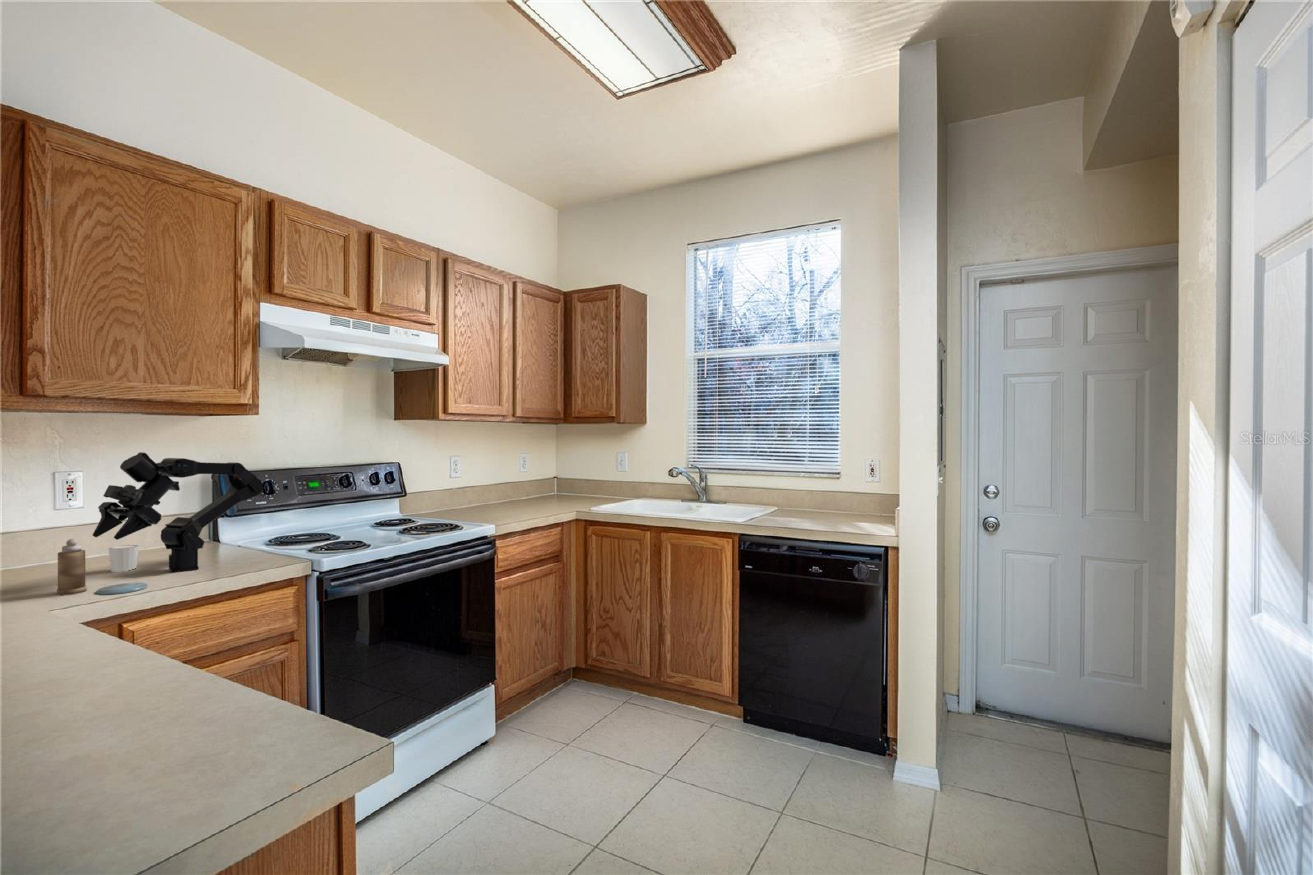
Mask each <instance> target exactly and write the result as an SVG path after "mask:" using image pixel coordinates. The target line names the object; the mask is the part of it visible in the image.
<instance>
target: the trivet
mask: <svg viewBox="0 0 1313 875" xmlns="http://www.w3.org/2000/svg"><path fill="white" fill-rule="evenodd" d="M146 588H148V583H146V582H127V583H117V584H112V585H108V586H107V585H106V586H103V587H100V588H99V589H96V590H97V591H96V593H97V595H101V596H102V595H103V596H104V595H105V596H107V595H108V596H109V595H111V596H112V595H121V594H122V595H123V594H129V593H130V594H131V593H134V592H139V591H142V590H145V589H146Z"/></svg>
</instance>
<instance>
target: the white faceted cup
mask: <svg viewBox="0 0 1313 875" xmlns="http://www.w3.org/2000/svg"><path fill="white" fill-rule="evenodd" d="M139 548H140V546H139V545H138V544H137V545H136V544H124V545H116V546H111V547H108V550H107V551H108V556H109V562H110V563H109V564H110V571H111V573H123V572H122V571H125V572H129V571H128V570H131V571H133V570H132V569H135V568H136V569H137V563H138V554H139ZM136 569H135V570H136Z"/></svg>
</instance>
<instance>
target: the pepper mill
mask: <svg viewBox="0 0 1313 875" xmlns="http://www.w3.org/2000/svg"><path fill="white" fill-rule="evenodd" d="M77 541H78V540H76V539H75V538H70V539H68V540H67V541H66V543H65V544H66V545H63V546H61V551H59V552H57V589H56V595H57V596H68V595H69V596H70V595H77V594H81V593H84V592H86V591H88V590H87V588H88V587H87V586H88V585H87V584H86V549H82V545H81V544H77V543H78V542H77Z"/></svg>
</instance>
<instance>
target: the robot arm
mask: <svg viewBox="0 0 1313 875" xmlns="http://www.w3.org/2000/svg"><path fill="white" fill-rule="evenodd" d="M119 468H120V469H121V471H123V473H125V474H126V475H128V477H130V478H131V479H132V480H133V481H134V482H136V483H143V484H142V485H141V486H139V488H137V487H136V486H135V485H131V484H125V486H121V485H120V486H119V485H112V484H111V485H110V484H109V485H108V487H107V488H106V489H105V491H104V494H103V497H105V498H110V499H113V500H117V502H115V501H104V502H101V504H100V505H99V506H97V508H98V512H99V513H100V517H101V518H100V520H99V522H98V523H97V526H96V528H95V529H94V531H93V533H92V536H93V537H94V538H98V537H100V536H102V535H104V534H106V533H107V532H109V531H111V530H113V529H114V528H116V527H118V526H119V525H121V524H122V526H121V527H120V528H119V529H118V531H117V532H116V533H115V535H114V536H113V539H115V540H116V541H117V540H120V539H123V538H124V537H126V536H129V535H132V534H134V533H136V532H138V531H141V530H144V529H146V528H148V527H152V525H157V524H159V522H160V521H161V520H162V514H161V513H160V512H159V511H158V510H156V509H155V508H153V507H154V506H159V505H160V504H161V500H160V499H162V498H163V497H164V496H165V494H166V493H168V492H169V491H175V492H179V491H180V482H179V481H177V480H176V481H175V480H173V479H171V478H180V479H181V478H182V479H183V478H188V477H194V476H197V475H225V476H226V479H227V482H228V483H229V487H228V489H227V491H226V493H224V494H223V495H221V496H220V497H218V498H217V499H215V500H214V501H212V502H211V503H209V504H208V505H207V506H205V507H203V508H202V509H200V510H199V511H197V512H196V513H195V514H193V515H192V516H190V517H181V516H180V517H179V516H178V517H176V518H174V519H173V520H171V522H169V523H165V524H164V526H165V527H163V528H162V529H161V531H160V541H161V542H162V543H163V544H164V546H165V548H166V550H170V551H171V552H170V553H169V554H168V569H169V570H170V572H171V573H174V572H183V571H194V570H199V568H200V567H199V549H203V547H204V545H205V540H204V539H203V538H201V537H200V534H201V533H202V531H203V529H204V528H205V527H207V526H208V525H210V524H211V523H212V522H213V521H215V520H216V519H217V518H219V517H221V516H223V515H224V514H225V513H226V512H228V511H229V510H230V509H233V507H235V506H236V505H238V504H239V503H242V502H244V501H248V500H252V499H253V498H255V497H257V496H259V495H260V494H262V493H263V492H264V491H263V489H264V484H263V482H262V480H261V479H259V478H258V477H257V476H256V475H255V474H254V473H252V471H249V470H248V469H247V468H246V467H245V466H244V465H243V464H242V463H240V462H233V461H232V462H231V461H230V462H229V461H228V462H200V461H197V460H195V459H188V458H180V457H177V458H176V457H166V458H163V459H162V460H161V461H160V462H157V463H156V462H155V461H154V460H153V459H152V458H151V457H150V456H149V455H148V454H147V453H146V452H144V451H142V452H138V453H137V454H135V455H133V456H130V457H128V458H127V459H125V460H124V461H122V463H121V464H120V466H119ZM125 520H126V521H125ZM123 521H125V522H123Z"/></svg>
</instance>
